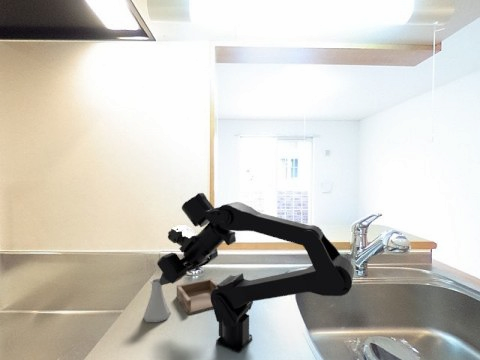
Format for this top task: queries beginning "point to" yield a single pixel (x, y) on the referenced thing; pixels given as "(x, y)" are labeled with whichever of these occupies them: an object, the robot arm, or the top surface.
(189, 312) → the wooden tray
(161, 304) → the flask
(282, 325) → the top surface
